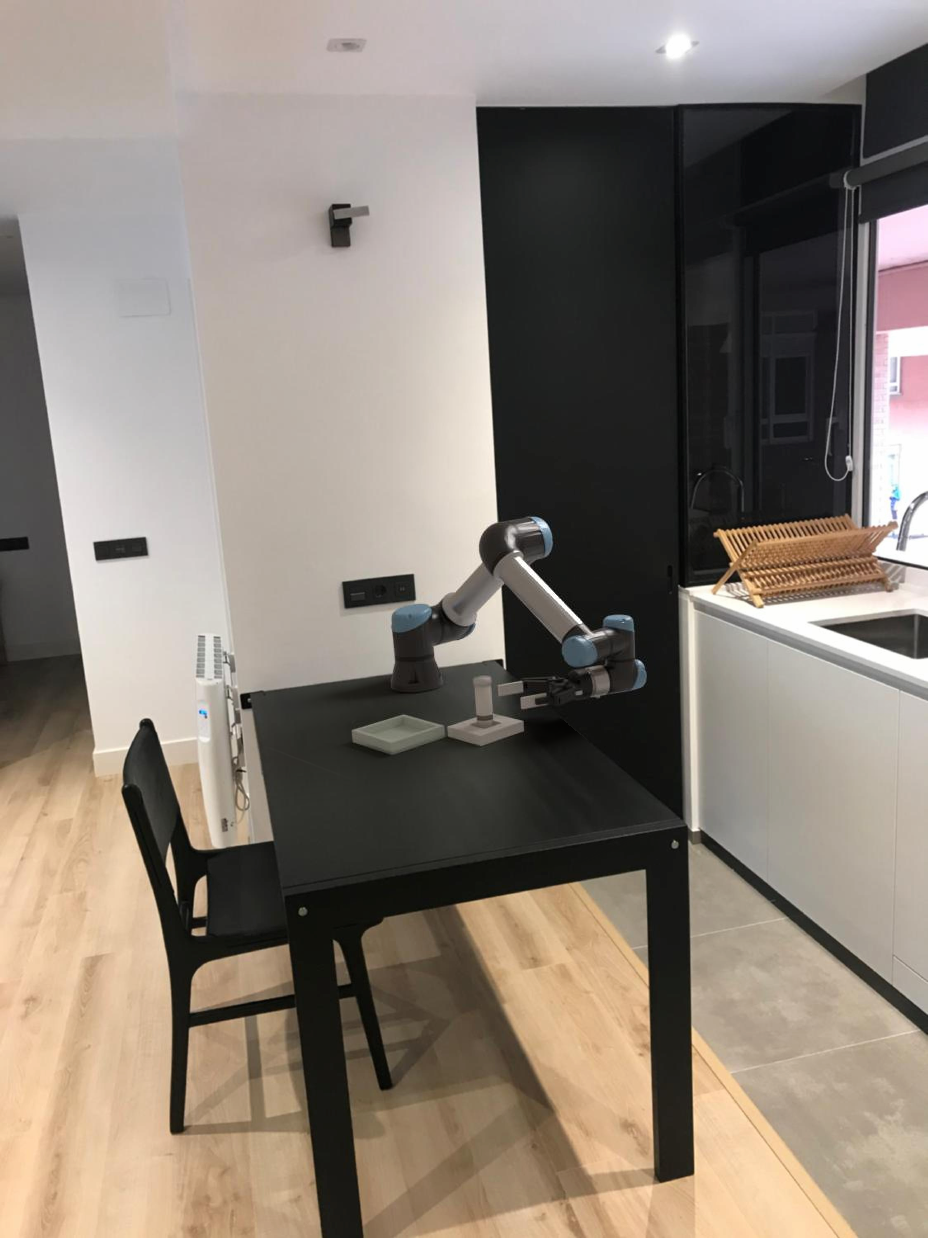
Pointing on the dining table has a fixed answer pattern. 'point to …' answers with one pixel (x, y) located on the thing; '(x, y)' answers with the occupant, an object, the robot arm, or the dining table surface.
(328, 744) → the dining table surface
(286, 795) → the dining table surface
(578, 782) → the dining table surface
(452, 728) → the socket block
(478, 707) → the fuse
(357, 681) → the dining table surface
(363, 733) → the parts tray
